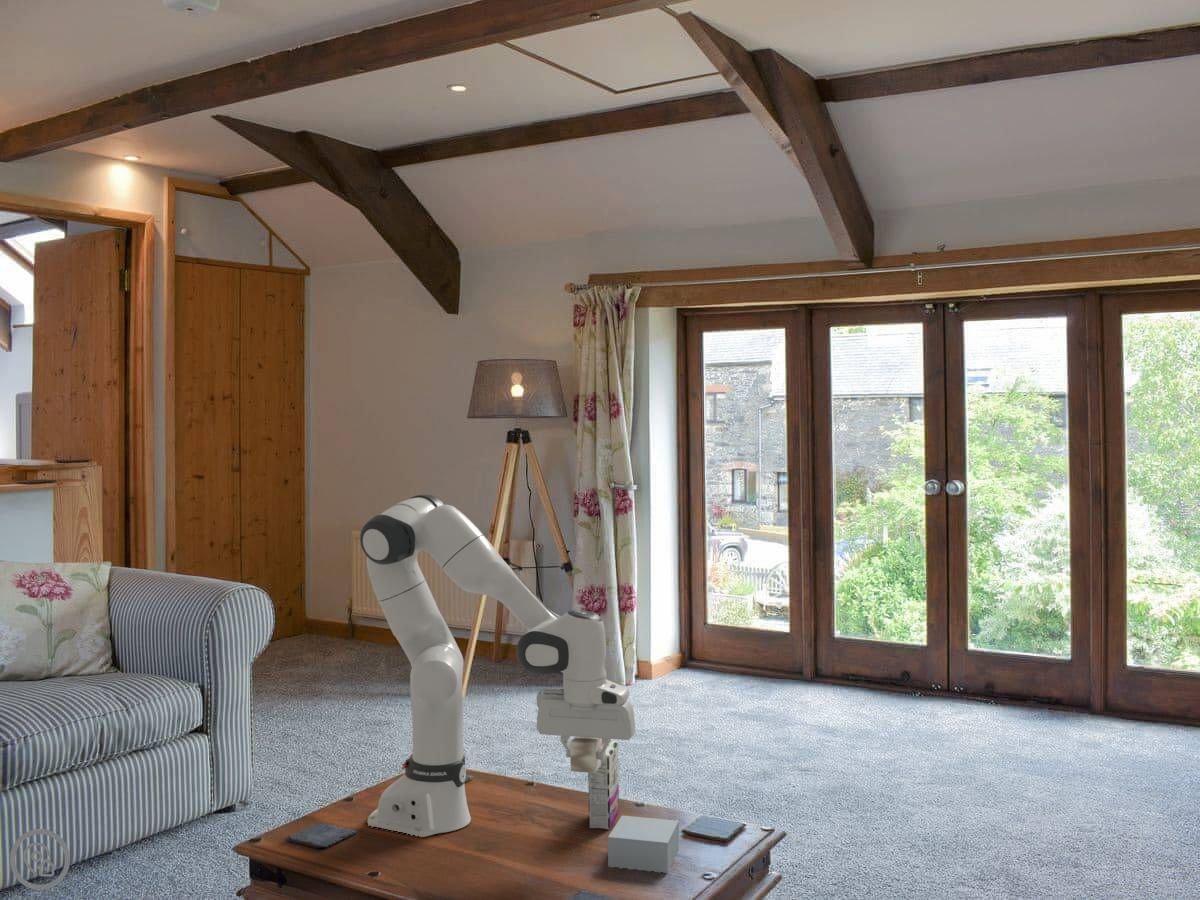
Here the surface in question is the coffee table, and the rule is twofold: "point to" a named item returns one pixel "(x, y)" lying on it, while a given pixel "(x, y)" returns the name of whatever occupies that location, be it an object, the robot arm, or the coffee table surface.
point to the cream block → (585, 754)
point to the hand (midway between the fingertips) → (585, 757)
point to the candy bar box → (604, 790)
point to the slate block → (643, 843)
